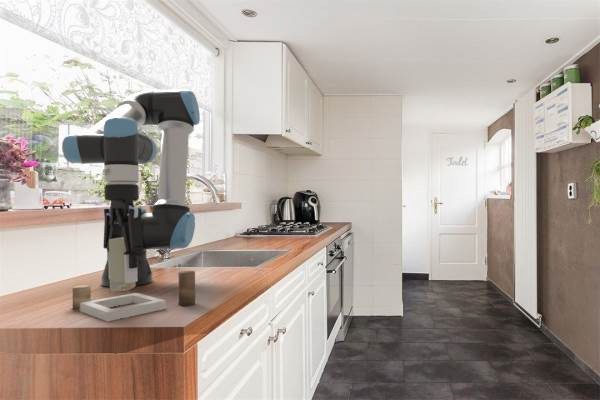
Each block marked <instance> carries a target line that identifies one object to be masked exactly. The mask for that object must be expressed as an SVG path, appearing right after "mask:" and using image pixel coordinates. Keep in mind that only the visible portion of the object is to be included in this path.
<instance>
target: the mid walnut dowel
mask: <svg viewBox="0 0 600 400" xmlns="http://www.w3.org/2000/svg"><path fill="white" fill-rule="evenodd" d="M177 276H178V306H180V307H190V306H191V307H192V306H194V305H196V271H195V270H182V271H178V275H177Z"/></svg>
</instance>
